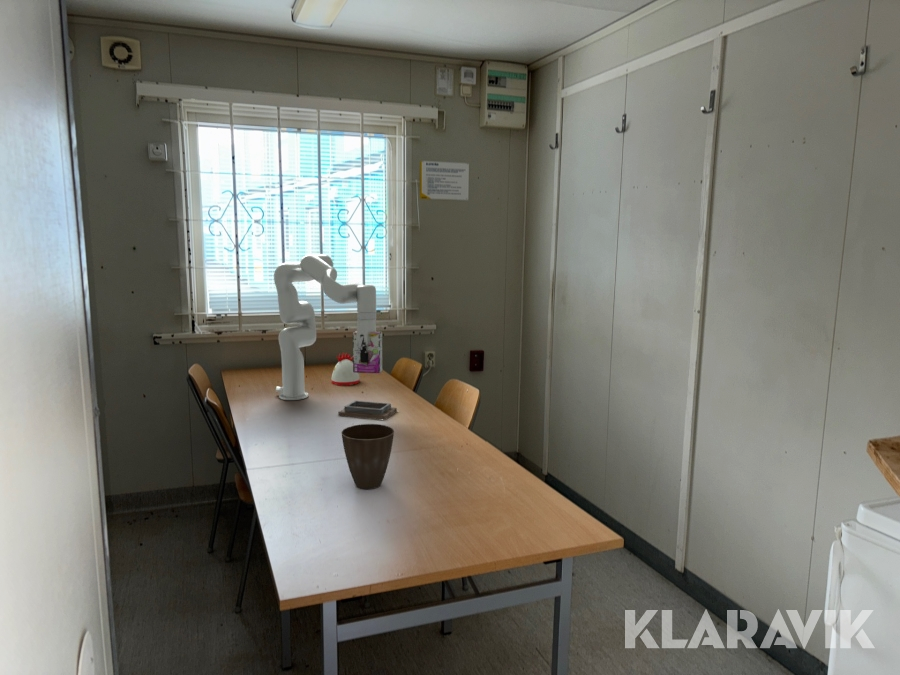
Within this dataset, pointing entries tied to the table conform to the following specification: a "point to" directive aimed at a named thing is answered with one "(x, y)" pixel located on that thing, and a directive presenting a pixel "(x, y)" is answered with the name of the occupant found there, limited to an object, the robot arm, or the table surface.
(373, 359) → the candy bar box
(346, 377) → the kitchen timer
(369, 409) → the stand
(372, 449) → the plant pot
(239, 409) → the table surface
